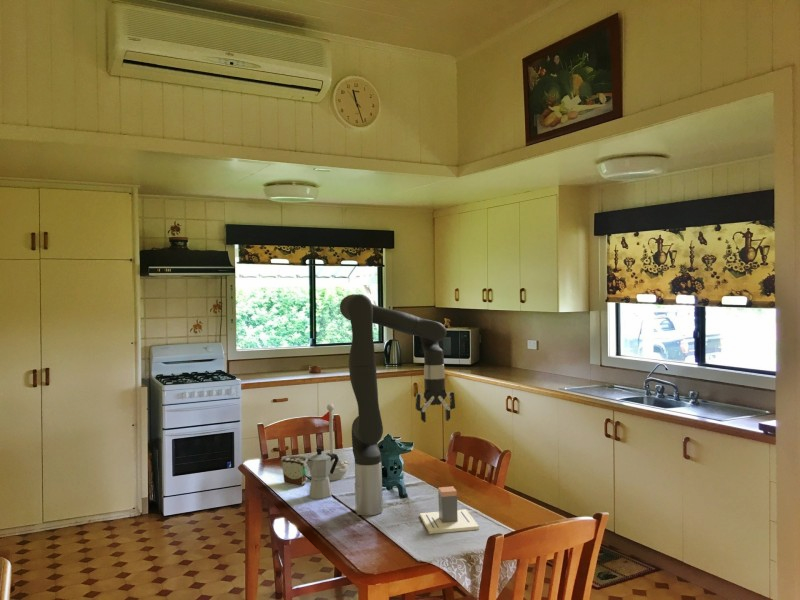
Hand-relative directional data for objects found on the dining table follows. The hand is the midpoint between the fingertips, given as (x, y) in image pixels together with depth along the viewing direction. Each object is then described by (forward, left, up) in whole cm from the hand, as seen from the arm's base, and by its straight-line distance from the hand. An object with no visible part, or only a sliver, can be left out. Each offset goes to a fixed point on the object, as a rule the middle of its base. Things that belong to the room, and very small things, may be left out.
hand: (435, 421), depth 243 cm
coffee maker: (-41, +14, -28) cm, 52 cm away
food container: (-50, +32, -28) cm, 66 cm away
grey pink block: (-2, -25, -27) cm, 37 cm away
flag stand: (-36, +37, -28) cm, 59 cm away
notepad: (-2, -25, -28) cm, 38 cm away
